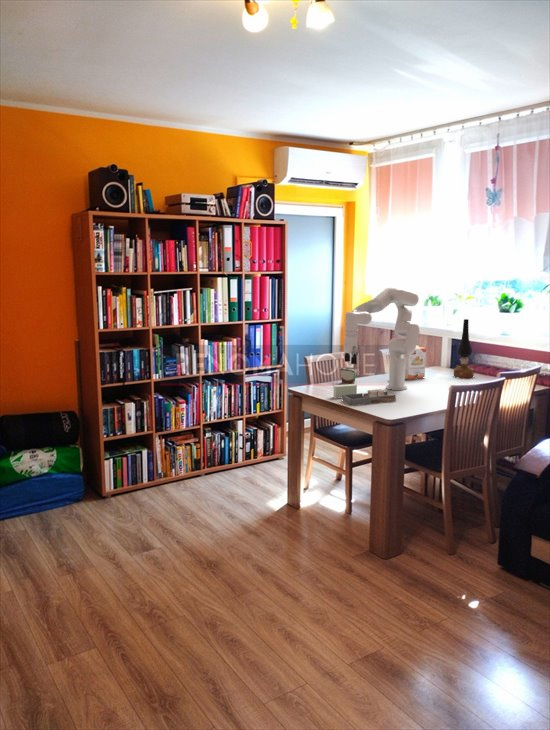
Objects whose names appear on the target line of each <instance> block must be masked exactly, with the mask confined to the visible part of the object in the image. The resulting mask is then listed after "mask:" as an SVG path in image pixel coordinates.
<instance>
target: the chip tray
mask: <svg viewBox="0 0 550 730" xmlns="http://www.w3.org/2000/svg"><path fill="white" fill-rule="evenodd" d="M342 400H343V401H344V403H345V402H346V403H345V404H347V403H348V404H347V405H349V404H350V405H349V406H351V405H353V406H359V405H358V404H364V405H371V404H370V403H372V397H371V398H365V397H363V393H362V392H361V393H357V394H347V395H342V398H341V401H342ZM343 401H342V402H343ZM372 404H373V403H372Z"/></svg>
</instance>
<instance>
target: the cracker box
mask: <svg viewBox="0 0 550 730" xmlns="http://www.w3.org/2000/svg"><path fill="white" fill-rule="evenodd" d="M403 355H404V354H403ZM426 355H427V348H426V347H422V346H420V347H419V346H418V347H417V346H416V349H415V351H414V353H413V354H411V355H404V357H405V380H407V379H410V380H415V379H414V378H421V379H424V378H423V377H425V374H426V357H427V356H426Z"/></svg>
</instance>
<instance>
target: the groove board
mask: <svg viewBox="0 0 550 730" xmlns="http://www.w3.org/2000/svg"><path fill="white" fill-rule="evenodd" d="M396 396H397V395H396V394H388V391H384V396H375V397H372V404H379V402H383V403H392V402H391V401H394V402H396V401H397V399H396ZM363 397H365V398H368V392H365V393H363Z"/></svg>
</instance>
